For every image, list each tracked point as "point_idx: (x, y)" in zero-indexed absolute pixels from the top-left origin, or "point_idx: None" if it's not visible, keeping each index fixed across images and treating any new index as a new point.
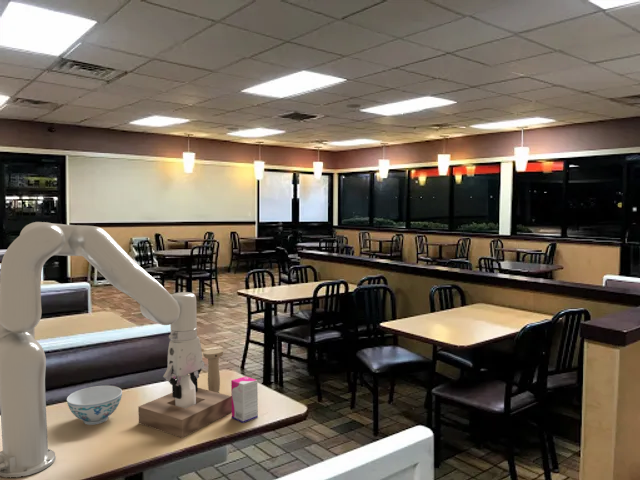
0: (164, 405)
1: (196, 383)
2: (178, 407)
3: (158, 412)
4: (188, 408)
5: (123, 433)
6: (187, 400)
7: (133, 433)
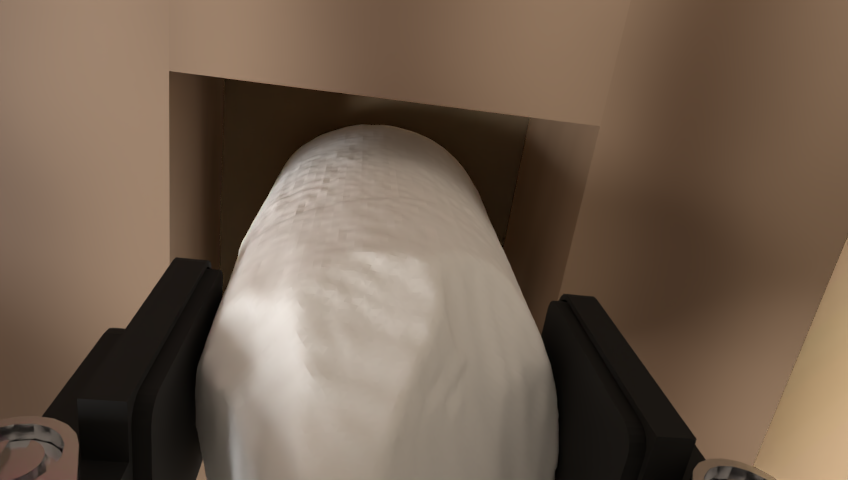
0: None
1: (154, 337)
2: (592, 242)
3: (791, 352)
4: (582, 87)
5: (810, 452)
6: (471, 218)
7: (797, 393)
